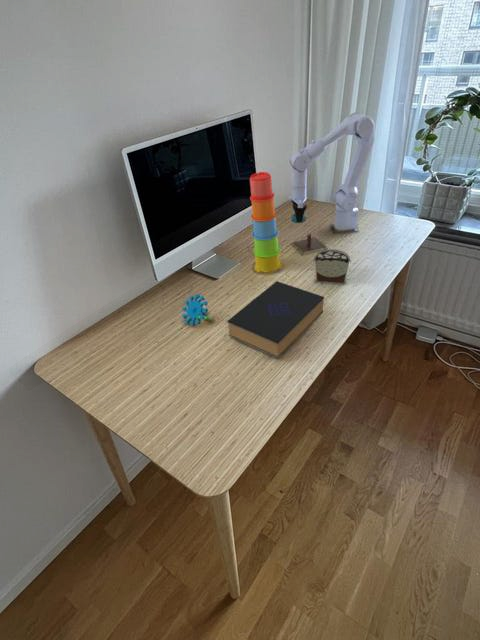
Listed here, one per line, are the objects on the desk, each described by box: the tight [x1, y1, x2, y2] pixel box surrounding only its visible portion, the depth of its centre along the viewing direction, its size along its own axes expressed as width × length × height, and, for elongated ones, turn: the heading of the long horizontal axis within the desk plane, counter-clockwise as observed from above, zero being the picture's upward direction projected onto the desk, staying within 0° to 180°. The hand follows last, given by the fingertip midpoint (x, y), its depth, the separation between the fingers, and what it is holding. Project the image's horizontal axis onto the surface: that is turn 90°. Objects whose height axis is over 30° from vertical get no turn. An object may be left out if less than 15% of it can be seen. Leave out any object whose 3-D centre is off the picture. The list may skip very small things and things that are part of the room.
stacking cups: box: [249, 171, 282, 275], centre depth 133 cm, size 10×10×35 cm
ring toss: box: [292, 233, 327, 254], centre depth 153 cm, size 10×10×5 cm
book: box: [226, 280, 325, 360], centre depth 113 cm, size 17×25×7 cm
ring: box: [290, 213, 307, 224], centre depth 158 cm, size 6×6×2 cm
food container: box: [312, 248, 352, 285], centre depth 131 cm, size 12×6×10 cm, turn 74°
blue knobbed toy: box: [181, 293, 213, 327], centre depth 120 cm, size 11×6×10 cm
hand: (298, 218), depth 158 cm, fingers closed on ring, 5 cm apart
